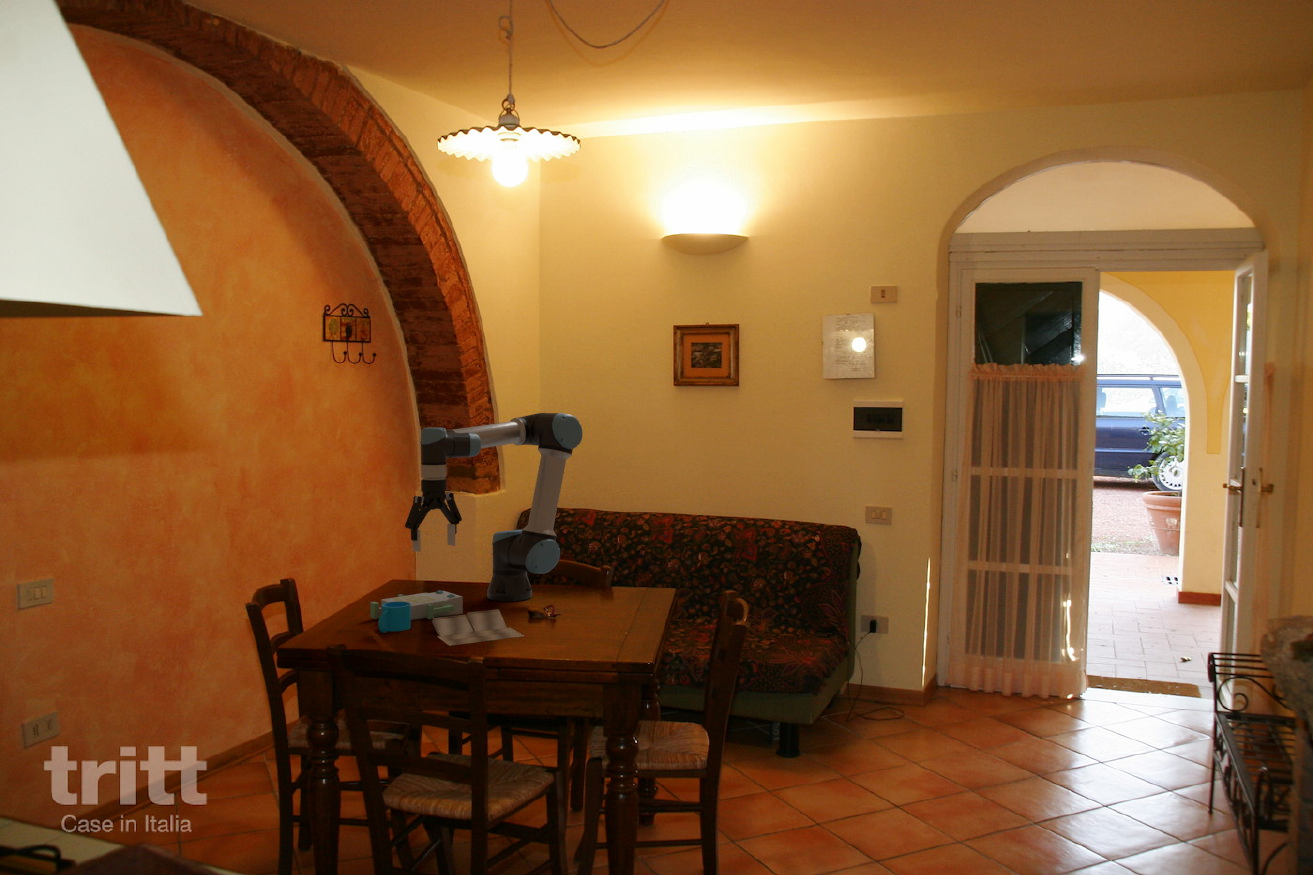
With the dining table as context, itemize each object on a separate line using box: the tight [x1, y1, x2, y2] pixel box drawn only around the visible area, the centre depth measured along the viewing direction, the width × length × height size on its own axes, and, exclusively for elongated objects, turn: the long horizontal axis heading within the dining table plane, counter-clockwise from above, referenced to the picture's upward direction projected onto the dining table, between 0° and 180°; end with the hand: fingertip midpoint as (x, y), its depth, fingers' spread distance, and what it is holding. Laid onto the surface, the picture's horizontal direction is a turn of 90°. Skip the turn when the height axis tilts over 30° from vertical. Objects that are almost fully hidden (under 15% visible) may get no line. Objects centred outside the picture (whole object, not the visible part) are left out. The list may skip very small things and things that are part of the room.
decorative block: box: [369, 590, 464, 621], centre depth 294 cm, size 26×6×20 cm
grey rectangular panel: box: [466, 609, 508, 632], centre depth 278 cm, size 10×8×1 cm
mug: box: [377, 601, 412, 634], centre depth 273 cm, size 12×8×8 cm
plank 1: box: [432, 614, 475, 636], centre depth 272 cm, size 10×8×1 cm
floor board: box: [437, 627, 525, 646], centre depth 267 cm, size 22×11×1 cm, turn 120°
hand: (434, 548), depth 285 cm, fingers open, 13 cm apart
